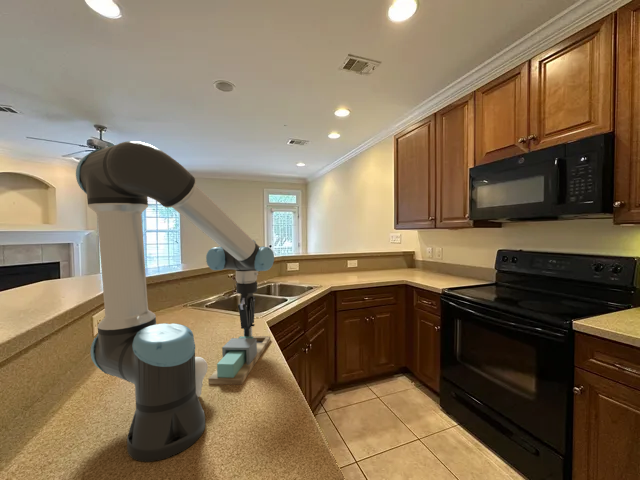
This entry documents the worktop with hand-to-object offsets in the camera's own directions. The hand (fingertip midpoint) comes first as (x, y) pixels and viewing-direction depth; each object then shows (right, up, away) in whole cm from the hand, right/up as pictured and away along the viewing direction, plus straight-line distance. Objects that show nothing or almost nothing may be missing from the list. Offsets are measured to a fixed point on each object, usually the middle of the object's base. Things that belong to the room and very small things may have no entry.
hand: (248, 345), depth 105 cm
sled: (-1, -2, -11) cm, 11 cm away
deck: (0, -3, -4) cm, 5 cm away
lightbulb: (-7, -4, -28) cm, 29 cm away
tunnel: (-1, -2, -8) cm, 9 cm away
